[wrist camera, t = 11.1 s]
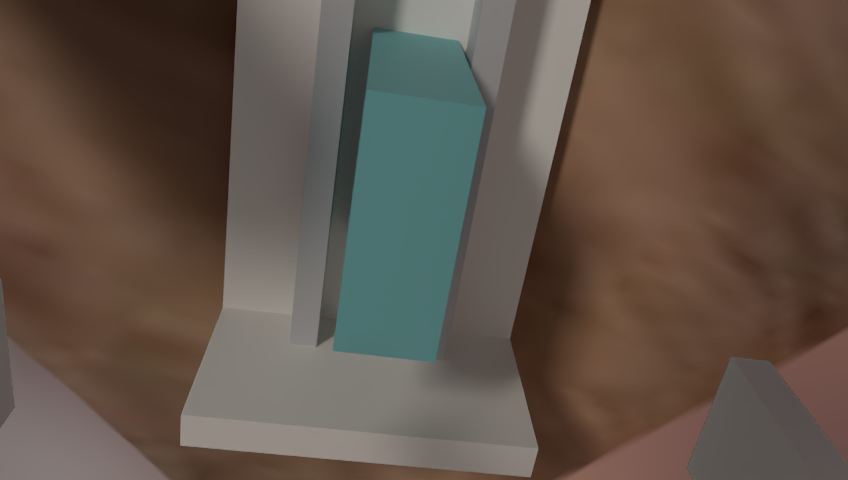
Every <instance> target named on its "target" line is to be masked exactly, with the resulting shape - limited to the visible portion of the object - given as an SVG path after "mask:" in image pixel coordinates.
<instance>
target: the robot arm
mask: <svg viewBox="0 0 848 480" xmlns="http://www.w3.org/2000/svg"><path fill="white" fill-rule="evenodd" d="M14 408H15V406H14V396H13V387H12V378H11V368H10V358H9V349H8V339H7V330H6V320H5V311H4V301H3V292H2V282H1V279H0V428H1V426H2V425H3V423H4V422H5V421H6V419H7V418H8V416H9V415H10V413H11V412H12V410H13V409H14ZM687 469H688V471H689V473H690V475H691V477H692V479H693V480H848V463H847V461H846V460H845V459H844V457H843V456H842V455H841V454H840V452H839V451H838V450H837V448H836V447H835V446H834V444H833V443H832V442H831V441H830V439H829V438H828V437H827V435H826V434H825V433H824V431H823V430H822V429H821V428H820V426H819V425H818V424H817V422H816V421H815V420H814V419H813V417H812V416H811V414H810V413H809V412H808V411H807V409H806V408H805V407H804V405H803V404H802V403H801V402H800V400H799V399H798V398H797V396H796V395H795V394H794V392H793V391H792V390H791V388H790V387H789V386H788V385H787V383H786V382H785V381H784V379H783V378H782V377H781V376H780V374H779V373H778V372H777V370H776V369H775V368H774V366H773V365H772V364H771V362H770V361H767V360H758V359H748V358H739V357H731V358H730V360H729V363H728V365H727V368H726V370H725V373H724V375H723V378H722V380H721V383H720V385H719V388H718V390H717V393H716V395H715V398H714V400H713V403H712V406H711V408H710V411H709V413H708V416H707V418H706V421H705V423H704V426H703V428H702V431H701V433H700V436H699V439H698V441H697V443H696V446H695V448H694V451H693V453H692V456H691V459H690V461H689V463H688V466H687Z"/></svg>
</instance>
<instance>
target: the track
mask: <svg viewBox="0 0 848 480" xmlns="http://www.w3.org/2000/svg"><path fill="white" fill-rule="evenodd" d="M590 2H591V0H237V21H236V42H235V63H234V84H233V105H232V126H231V147H230V168H229V189H228V210H227V231H226V252H225V273H224V294H223V308H222V311H221V313H220V316H219V318H218V321H217V323H216V326H215V329H214V331H213V334H212V336H211V339H210V341H209V344H208V347H207V349H206V352H205V354H204V357H203V359H202V362H201V365H200V367H199V370H198V372H197V375H196V377H195V380H194V383H193V385H192V388H191V390H190V393H189V395H188V398H187V401H186V403H185V406H184V408H183V411H182V413H181V437H180V445H181V446H192V447H203V448H214V449H225V450H236V451H247V452H258V453H269V454H280V455H291V456H302V457H313V458H324V459H335V460H346V461H357V462H368V463H379V464H390V465H400V466H411V467H422V468H433V469H444V470H455V471H466V472H477V473H488V474H499V475H510V476H521V477H531V474H532V470H533V467H534V463H535V460H536V456H537V453H538V445H537V441H536V437H535V433H534V429H533V425H532V422H531V418H530V414H529V410H528V406H527V402H526V399H525V395H524V391H523V387H522V383H521V379H520V375H519V372H518V368H517V364H516V360H515V356H514V352H513V349H512V345H511V341H510V336H511V332H512V328H513V324H514V320H515V316H516V311H517V307H518V303H519V299H520V295H521V290H522V286H523V282H524V278H525V274H526V270H527V265H528V261H529V257H530V253H531V249H532V245H533V240H534V236H535V232H536V228H537V224H538V219H539V215H540V211H541V207H542V203H543V199H544V194H545V190H546V186H547V182H548V178H549V174H550V169H551V165H552V161H553V157H554V153H555V148H556V144H557V140H558V136H559V132H560V128H561V123H562V119H563V115H564V111H565V107H566V103H567V98H568V94H569V90H570V86H571V82H572V77H573V73H574V69H575V65H576V61H577V57H578V52H579V48H580V44H581V40H582V36H583V32H584V27H585V23H586V19H587V15H588V11H589V6H590ZM374 27H375V28H381V29H388V30H394V31H401V32H407V33H413V34H420V35H426V36H432V37H439V38H445V39H451V40H458V41H459V43H460V46H461V48H462V50H463V53H464V55H465V58H466V60H467V62H468V65H469V67H470V69H471V72H472V74H473V77H474V79H475V81H476V84H477V86H478V89H479V91H480V93H481V96H482V98H483V101H484V103H485V105H486V112H485V117H484V122H483V127H482V132H481V137H480V142H479V147H478V152H477V157H476V162H475V166H474V171H473V176H472V181H471V186H470V191H469V196H468V201H467V206H466V211H465V216H464V221H463V226H462V231H461V236H460V241H459V246H458V251H457V256H456V261H455V266H454V271H453V276H452V281H451V286H450V291H449V296H448V301H447V306H446V311H445V316H444V321H443V326H442V331H441V336H440V340H439V345H438V350H437V355H436V360H435V362H427V361H418V360H409V359H400V358H392V357H383V356H374V355H365V354H356V353H347V352H338V351H333V344H334V336H335V327H336V319H337V311H338V303H339V294H340V286H341V278H342V270H343V261H344V253H345V245H346V237H347V228H348V221H349V213H350V205H351V198H352V190H353V182H354V175H355V167H356V159H357V151H358V144H359V136H360V128H361V121H362V113H363V105H364V98H365V90H366V82H367V75H368V67H369V59H370V52H371V44H372V36H373V29H374Z"/></svg>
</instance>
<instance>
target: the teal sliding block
mask: <svg viewBox="0 0 848 480" xmlns="http://www.w3.org/2000/svg"><path fill="white" fill-rule="evenodd" d="M485 112H486V105H485V103H484V101H483V98H482V96H481V93H480V91H479V89H478V86H477V84H476V81H475V79H474V77H473V74H472V72H471V69H470V67H469V65H468V62H467V60H466V58H465V55H464V53H463V50H462V48H461V46H460V43H459V41H458V40H451V39H445V38H439V37H432V36H426V35H420V34H413V33H407V32H401V31H394V30H388V29H381V28H375V27H374V29H373V36H372V44H371V52H370V59H369V67H368V75H367V82H366V90H365V98H364V105H363V113H362V121H361V128H360V136H359V144H358V151H357V159H356V167H355V175H354V182H353V190H352V198H351V205H350V213H349V221H348V228H347V237H346V245H345V253H344V261H343V270H342V278H341V286H340V294H339V303H338V311H337V319H336V327H335V336H334V344H333V351H338V352H347V353H356V354H365V355H374V356H383V357H392V358H400V359H409V360H418V361H427V362H435V360H436V355H437V350H438V345H439V340H440V336H441V331H442V326H443V321H444V316H445V311H446V306H447V301H448V296H449V291H450V286H451V281H452V276H453V271H454V266H455V261H456V256H457V251H458V246H459V241H460V236H461V231H462V226H463V221H464V216H465V211H466V206H467V201H468V196H469V191H470V186H471V181H472V176H473V171H474V166H475V162H476V157H477V152H478V147H479V142H480V137H481V132H482V127H483V122H484V117H485Z"/></svg>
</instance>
